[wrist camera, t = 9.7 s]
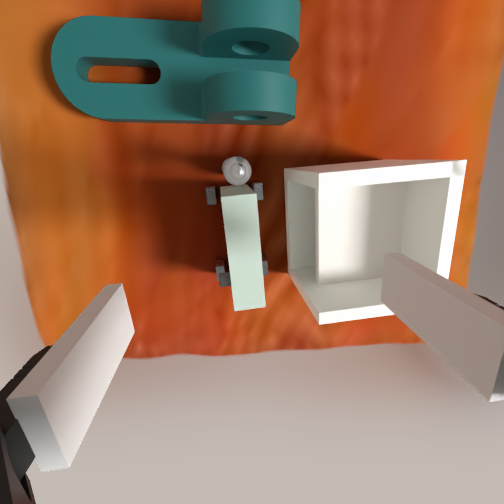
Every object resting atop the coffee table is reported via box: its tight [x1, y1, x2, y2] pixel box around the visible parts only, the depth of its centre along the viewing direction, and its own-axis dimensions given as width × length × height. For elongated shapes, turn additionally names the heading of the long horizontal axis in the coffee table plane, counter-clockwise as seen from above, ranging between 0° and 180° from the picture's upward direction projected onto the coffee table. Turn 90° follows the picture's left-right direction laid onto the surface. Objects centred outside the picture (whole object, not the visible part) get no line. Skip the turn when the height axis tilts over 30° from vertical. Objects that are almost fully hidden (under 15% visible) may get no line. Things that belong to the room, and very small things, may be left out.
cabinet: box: [284, 160, 467, 325], centre depth 25 cm, size 11×10×10 cm
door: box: [219, 184, 266, 311], centre depth 25 cm, size 9×4×8 cm, turn 5°
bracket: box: [51, 0, 301, 125], centre depth 20 cm, size 18×7×8 cm, turn 90°
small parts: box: [205, 156, 268, 281], centre depth 23 cm, size 11×5×10 cm, turn 5°
